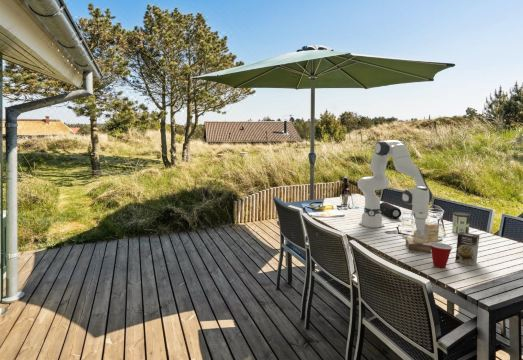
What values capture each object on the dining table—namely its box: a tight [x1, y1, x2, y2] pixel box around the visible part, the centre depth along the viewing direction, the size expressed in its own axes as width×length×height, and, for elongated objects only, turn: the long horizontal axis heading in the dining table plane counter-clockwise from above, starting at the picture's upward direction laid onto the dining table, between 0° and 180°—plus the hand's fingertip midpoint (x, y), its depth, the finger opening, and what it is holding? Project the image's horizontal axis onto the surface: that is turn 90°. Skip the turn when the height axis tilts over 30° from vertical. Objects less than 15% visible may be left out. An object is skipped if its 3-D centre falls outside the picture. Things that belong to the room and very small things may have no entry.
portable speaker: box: [380, 201, 402, 219], centre depth 265 cm, size 26×10×10 cm, turn 3°
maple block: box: [412, 230, 424, 243], centre depth 186 cm, size 5×5×6 cm
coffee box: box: [455, 232, 480, 267], centre depth 165 cm, size 9×6×16 cm
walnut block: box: [405, 237, 432, 254], centre depth 187 cm, size 12×12×5 cm
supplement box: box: [423, 222, 440, 243], centre depth 195 cm, size 8×5×13 cm, turn 105°
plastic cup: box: [430, 242, 454, 269], centre depth 161 cm, size 11×11×12 cm
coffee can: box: [451, 211, 471, 235], centre depth 215 cm, size 10×10×14 cm
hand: (418, 234), depth 186 cm, fingers open, 8 cm apart
